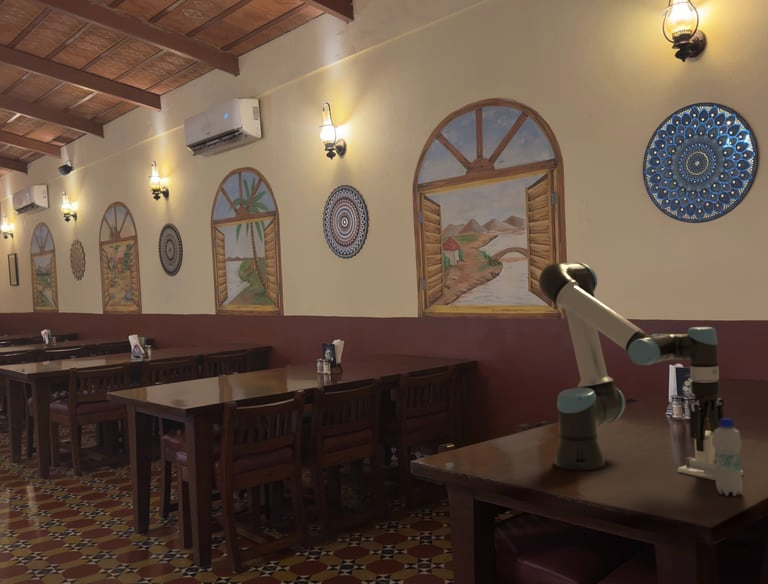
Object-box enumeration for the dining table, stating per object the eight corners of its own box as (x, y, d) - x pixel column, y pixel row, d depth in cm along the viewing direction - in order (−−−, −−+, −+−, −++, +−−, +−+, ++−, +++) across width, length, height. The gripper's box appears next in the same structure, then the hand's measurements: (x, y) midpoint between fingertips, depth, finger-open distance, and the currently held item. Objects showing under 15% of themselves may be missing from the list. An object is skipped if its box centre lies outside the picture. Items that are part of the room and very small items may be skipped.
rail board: (722, 481, 193) (721, 469, 193) (677, 471, 205) (677, 460, 205) (743, 475, 198) (742, 463, 198) (698, 465, 210) (697, 454, 210)
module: (711, 464, 198) (710, 436, 198) (695, 461, 202) (693, 433, 202) (724, 460, 201) (722, 432, 201) (707, 457, 205) (706, 430, 205)
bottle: (735, 489, 186) (731, 414, 186) (749, 496, 180) (745, 419, 179) (710, 490, 186) (706, 416, 186) (723, 498, 179) (719, 421, 179)
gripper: (697, 385, 193) (701, 468, 193) (736, 377, 203) (740, 456, 203) (673, 383, 199) (677, 463, 200) (712, 375, 210) (717, 451, 210)
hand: (709, 459), depth 201 cm, fingers closed on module, 6 cm apart
